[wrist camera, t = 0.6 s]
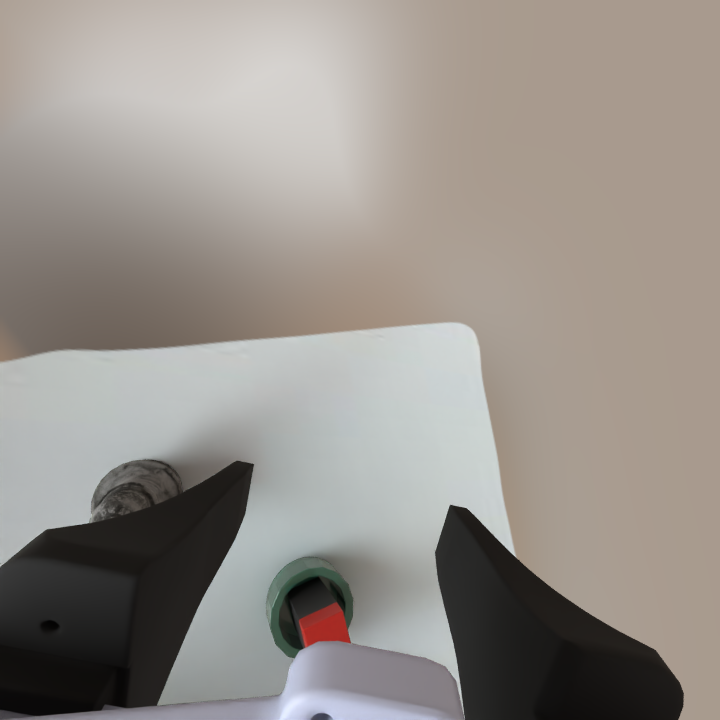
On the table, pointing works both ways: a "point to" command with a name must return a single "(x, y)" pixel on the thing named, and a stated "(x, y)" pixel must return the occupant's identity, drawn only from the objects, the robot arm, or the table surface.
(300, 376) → the table surface
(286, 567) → the green open cup
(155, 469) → the salt shaker
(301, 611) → the red-capped grey block
